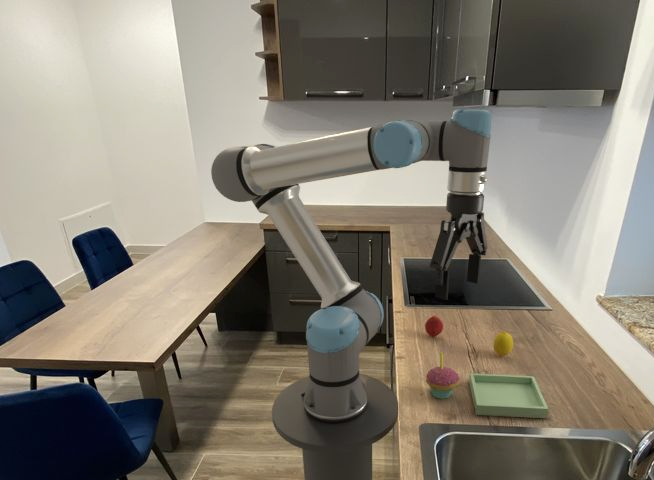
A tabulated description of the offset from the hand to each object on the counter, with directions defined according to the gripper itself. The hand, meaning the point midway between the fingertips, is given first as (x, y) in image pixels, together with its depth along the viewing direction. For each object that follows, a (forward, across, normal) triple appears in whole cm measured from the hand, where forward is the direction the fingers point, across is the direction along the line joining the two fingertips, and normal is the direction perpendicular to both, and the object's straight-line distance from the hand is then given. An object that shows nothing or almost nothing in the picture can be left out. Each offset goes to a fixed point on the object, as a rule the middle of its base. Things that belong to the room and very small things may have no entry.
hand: (457, 289), depth 99 cm
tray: (+30, +10, -10) cm, 33 cm away
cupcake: (+30, +2, +3) cm, 30 cm away
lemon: (+30, +31, 0) cm, 43 cm away
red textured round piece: (+30, +28, +23) cm, 47 cm away
